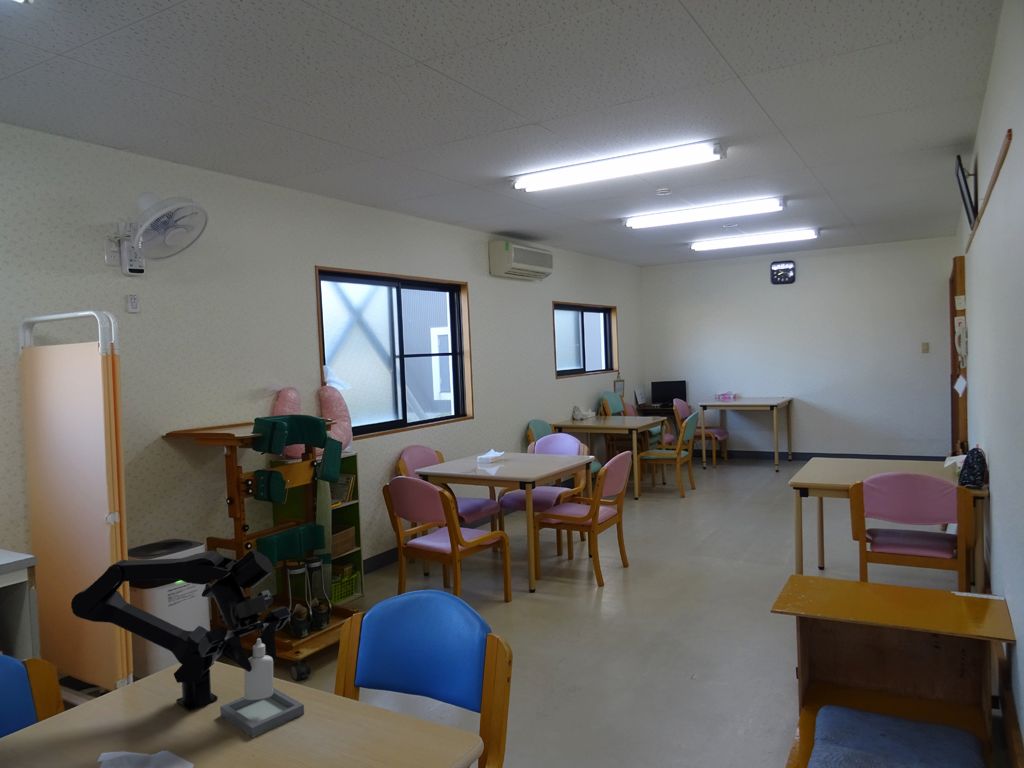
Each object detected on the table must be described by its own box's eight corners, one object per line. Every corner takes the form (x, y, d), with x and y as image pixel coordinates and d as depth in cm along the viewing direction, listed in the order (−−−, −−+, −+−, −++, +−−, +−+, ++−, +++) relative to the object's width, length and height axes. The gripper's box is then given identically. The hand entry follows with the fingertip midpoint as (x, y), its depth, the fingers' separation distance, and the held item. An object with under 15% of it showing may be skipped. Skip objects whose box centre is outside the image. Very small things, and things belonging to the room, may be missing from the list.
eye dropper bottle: (252, 690, 146) (252, 634, 146) (276, 692, 145) (276, 636, 145) (240, 699, 142) (240, 642, 142) (265, 702, 141) (265, 644, 141)
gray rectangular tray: (220, 715, 144) (220, 706, 144) (270, 694, 153) (270, 685, 153) (252, 737, 135) (252, 727, 135) (304, 714, 144) (303, 704, 144)
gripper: (202, 593, 138) (234, 662, 132) (284, 569, 153) (316, 630, 146) (185, 623, 143) (214, 690, 137) (266, 597, 158) (296, 657, 151)
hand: (262, 665), depth 143 cm, fingers closed on eye dropper bottle, 5 cm apart
